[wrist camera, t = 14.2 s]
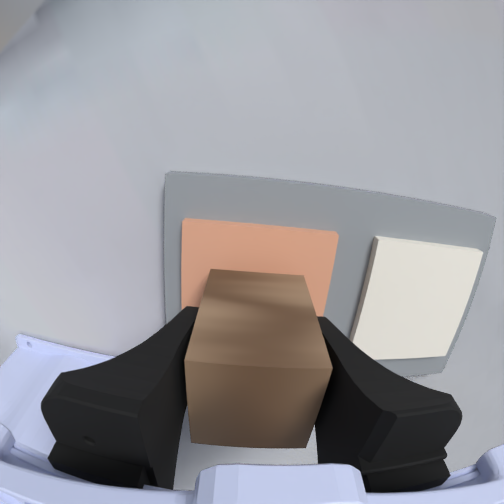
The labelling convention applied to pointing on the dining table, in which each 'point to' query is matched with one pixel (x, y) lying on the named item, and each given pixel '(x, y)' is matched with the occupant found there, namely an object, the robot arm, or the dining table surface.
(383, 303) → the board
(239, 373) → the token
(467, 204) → the dining table surface
